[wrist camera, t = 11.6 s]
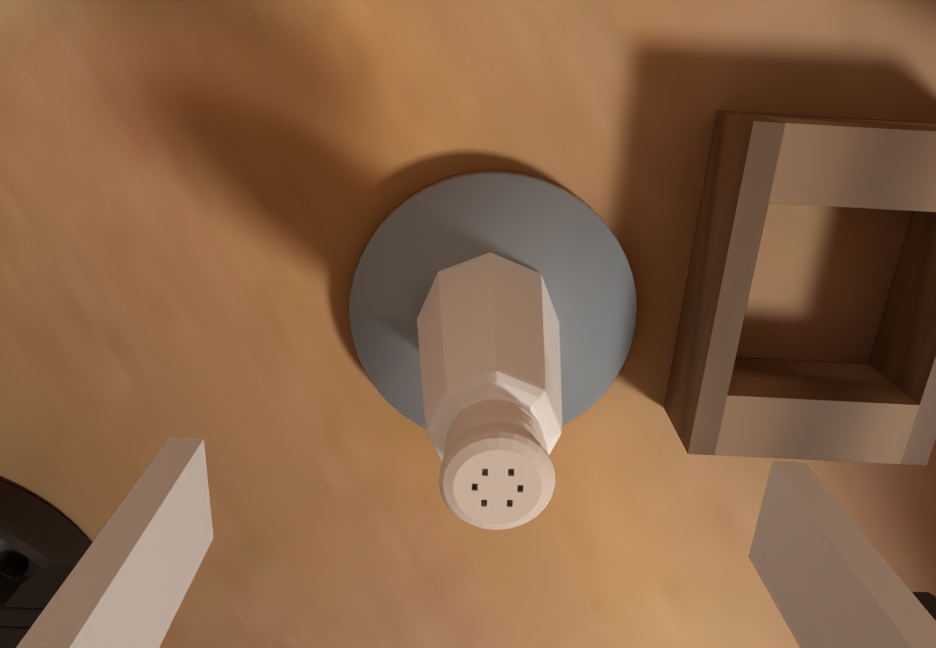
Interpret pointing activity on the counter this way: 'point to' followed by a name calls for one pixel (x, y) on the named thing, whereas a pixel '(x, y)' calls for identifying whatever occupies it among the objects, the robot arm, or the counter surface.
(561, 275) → the grey plate
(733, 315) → the pocket block
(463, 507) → the salt shaker
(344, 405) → the counter surface
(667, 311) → the counter surface
